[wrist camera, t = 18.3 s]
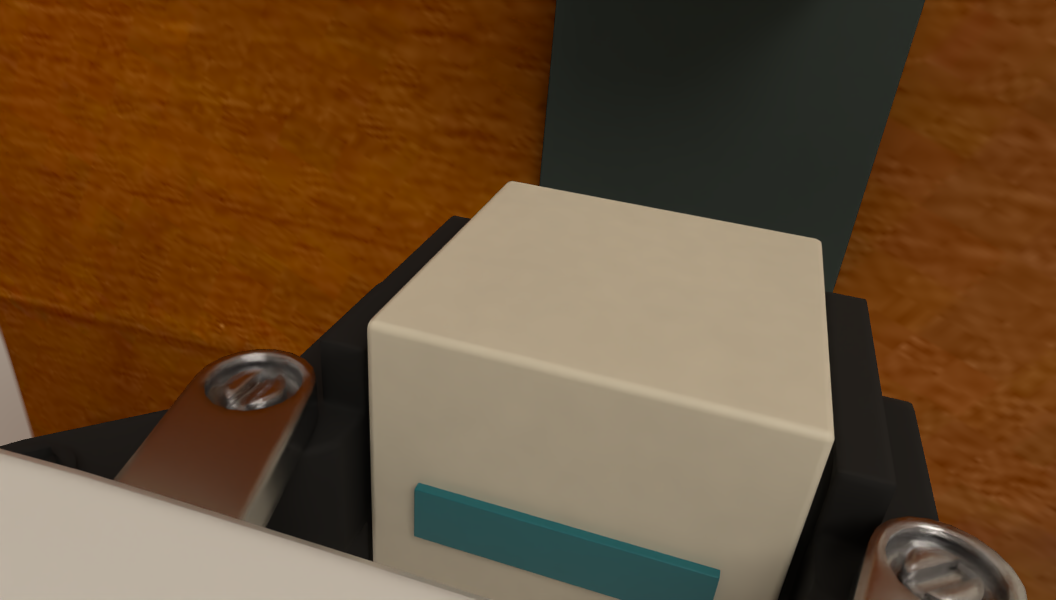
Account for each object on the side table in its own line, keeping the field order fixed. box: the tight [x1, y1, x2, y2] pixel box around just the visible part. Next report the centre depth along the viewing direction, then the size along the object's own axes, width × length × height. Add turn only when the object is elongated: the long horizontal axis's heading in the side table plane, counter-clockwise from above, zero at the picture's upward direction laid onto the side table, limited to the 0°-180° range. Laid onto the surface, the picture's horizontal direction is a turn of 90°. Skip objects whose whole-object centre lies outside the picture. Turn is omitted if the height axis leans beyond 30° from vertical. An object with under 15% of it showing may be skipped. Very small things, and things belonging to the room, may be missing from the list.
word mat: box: [539, 0, 925, 293], centre depth 18 cm, size 14×8×1 cm, turn 175°
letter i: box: [367, 181, 835, 600], centre depth 10 cm, size 4×4×4 cm
